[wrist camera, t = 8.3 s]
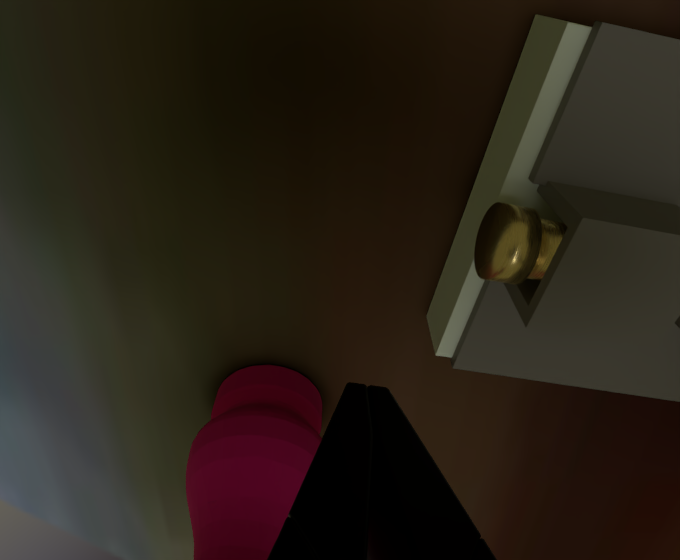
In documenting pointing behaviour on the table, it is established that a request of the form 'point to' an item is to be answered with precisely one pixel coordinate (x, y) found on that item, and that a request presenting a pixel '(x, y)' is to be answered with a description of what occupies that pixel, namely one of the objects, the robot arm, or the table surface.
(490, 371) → the hinge board
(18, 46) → the table surface
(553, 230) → the hinge pin
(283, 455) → the pepper mill
